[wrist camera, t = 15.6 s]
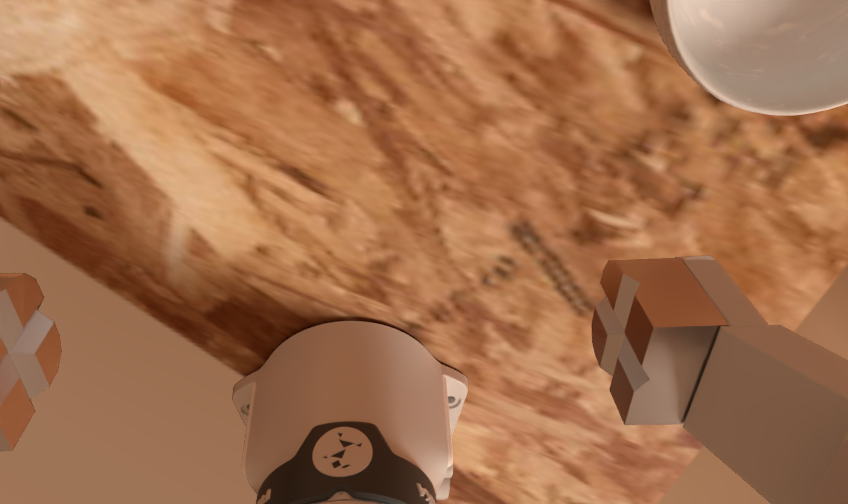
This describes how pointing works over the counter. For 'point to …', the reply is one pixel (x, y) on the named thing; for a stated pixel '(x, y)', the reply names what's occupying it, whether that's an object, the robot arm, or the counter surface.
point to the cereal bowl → (761, 51)
